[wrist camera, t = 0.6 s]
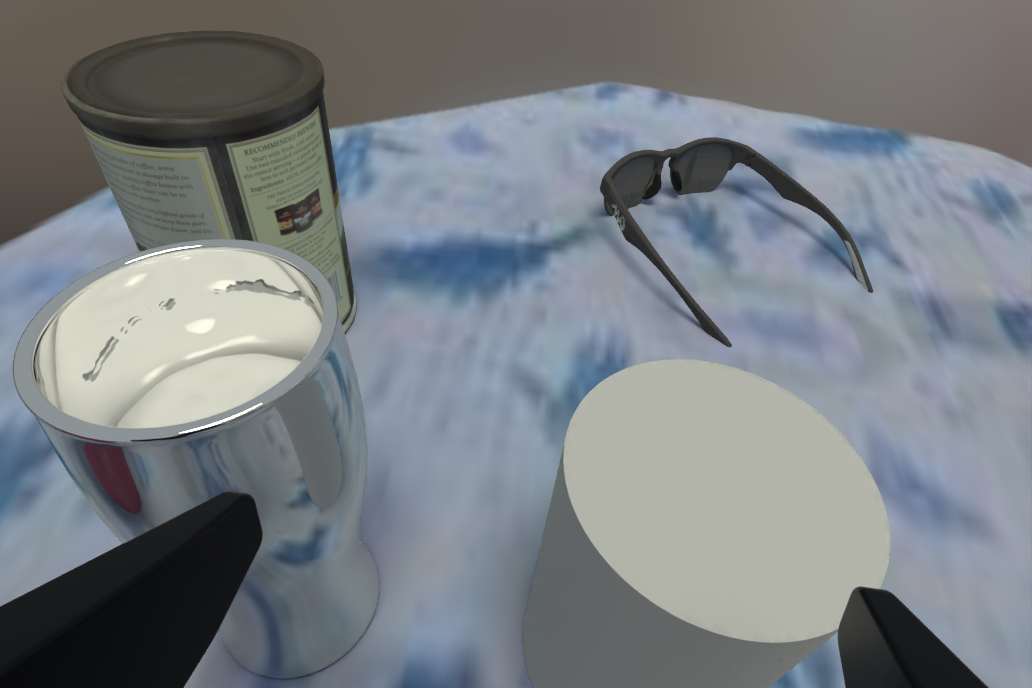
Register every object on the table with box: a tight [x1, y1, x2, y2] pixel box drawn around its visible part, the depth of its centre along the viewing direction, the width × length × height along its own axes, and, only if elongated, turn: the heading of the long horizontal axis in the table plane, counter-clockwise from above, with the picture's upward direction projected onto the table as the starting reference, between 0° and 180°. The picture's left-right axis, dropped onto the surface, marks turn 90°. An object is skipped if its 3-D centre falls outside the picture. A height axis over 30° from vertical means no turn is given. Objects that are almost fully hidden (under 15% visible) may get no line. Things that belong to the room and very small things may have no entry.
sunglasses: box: [600, 138, 873, 347], centre depth 43 cm, size 16×17×5 cm
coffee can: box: [61, 31, 357, 333], centre depth 30 cm, size 10×10×14 cm
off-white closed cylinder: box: [522, 359, 890, 688], centre depth 19 cm, size 8×8×12 cm
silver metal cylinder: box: [13, 239, 380, 679], centre depth 18 cm, size 7×7×15 cm
